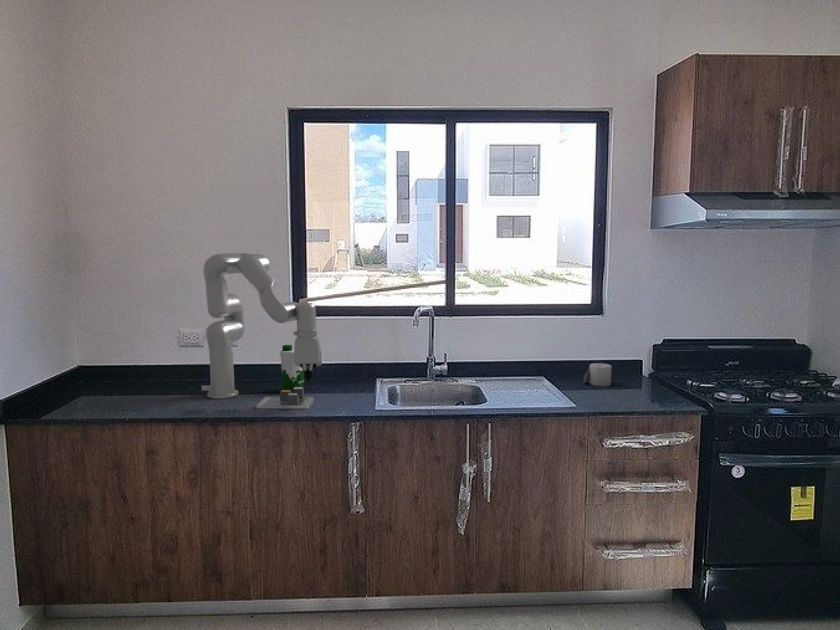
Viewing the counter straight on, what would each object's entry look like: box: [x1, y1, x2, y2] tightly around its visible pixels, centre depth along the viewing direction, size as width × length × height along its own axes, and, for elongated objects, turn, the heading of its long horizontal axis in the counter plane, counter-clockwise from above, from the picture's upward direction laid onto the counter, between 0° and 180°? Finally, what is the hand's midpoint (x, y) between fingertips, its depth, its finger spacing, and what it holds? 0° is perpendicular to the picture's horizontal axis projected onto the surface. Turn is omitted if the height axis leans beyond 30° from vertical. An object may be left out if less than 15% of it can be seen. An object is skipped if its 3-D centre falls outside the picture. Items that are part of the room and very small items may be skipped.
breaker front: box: [287, 393, 299, 405], centre depth 245 cm, size 4×2×4 cm, turn 89°
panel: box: [256, 396, 315, 410], centre depth 250 cm, size 20×13×1 cm, turn 89°
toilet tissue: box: [582, 362, 612, 387], centre depth 283 cm, size 9×13×9 cm
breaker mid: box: [279, 389, 291, 401], centre depth 250 cm, size 4×2×4 cm, turn 89°
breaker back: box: [293, 387, 305, 398], centre depth 255 cm, size 4×2×4 cm, turn 89°
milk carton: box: [279, 344, 305, 393], centre depth 270 cm, size 9×9×20 cm
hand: (309, 379), depth 249 cm, fingers closed
